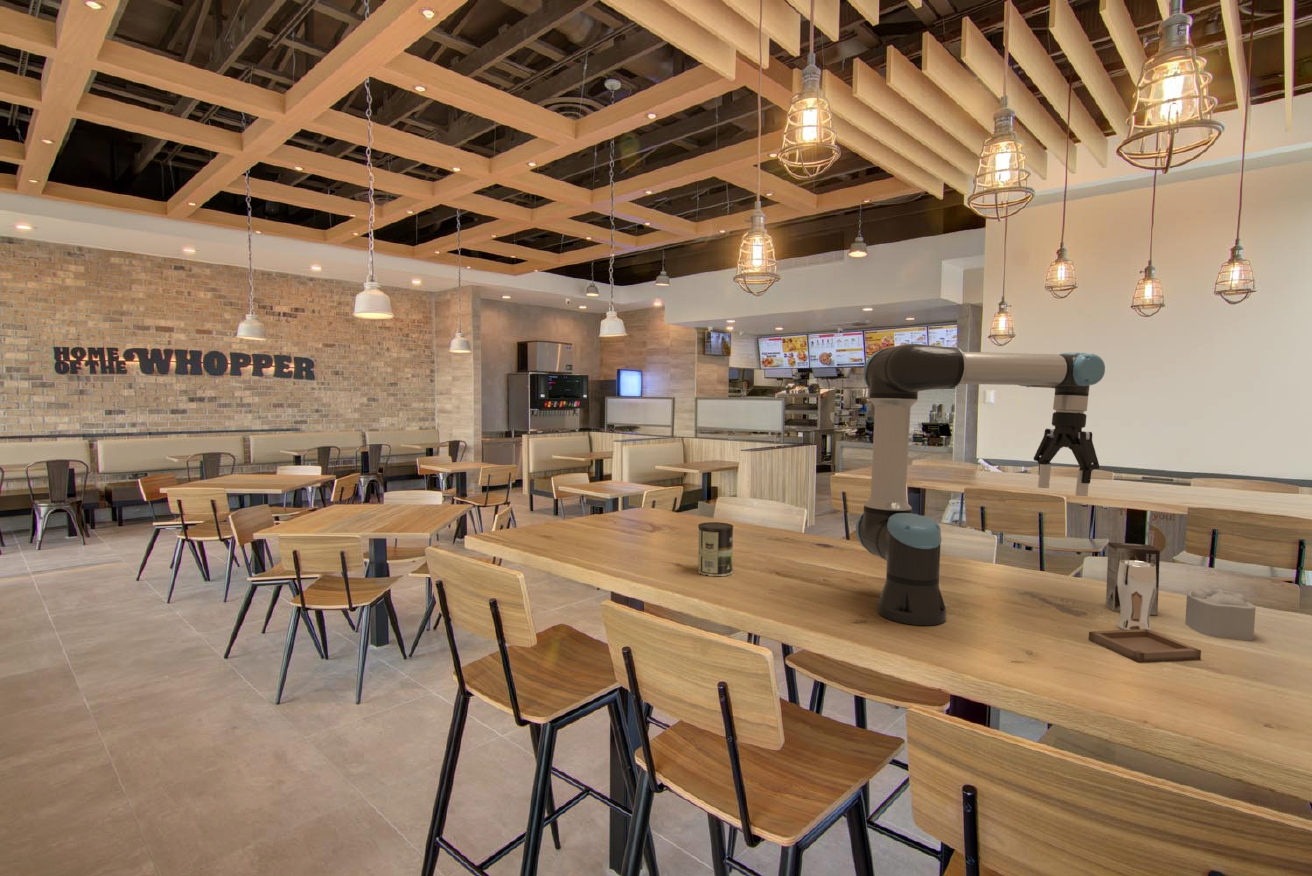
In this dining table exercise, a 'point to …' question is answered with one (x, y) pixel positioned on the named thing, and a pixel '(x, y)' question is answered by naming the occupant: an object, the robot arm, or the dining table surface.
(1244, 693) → the dining table surface
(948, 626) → the dining table surface
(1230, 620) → the lumpy-topped squat cylinder
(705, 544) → the coffee can
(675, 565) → the dining table surface
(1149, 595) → the beer glass
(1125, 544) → the coffee box
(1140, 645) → the tray
